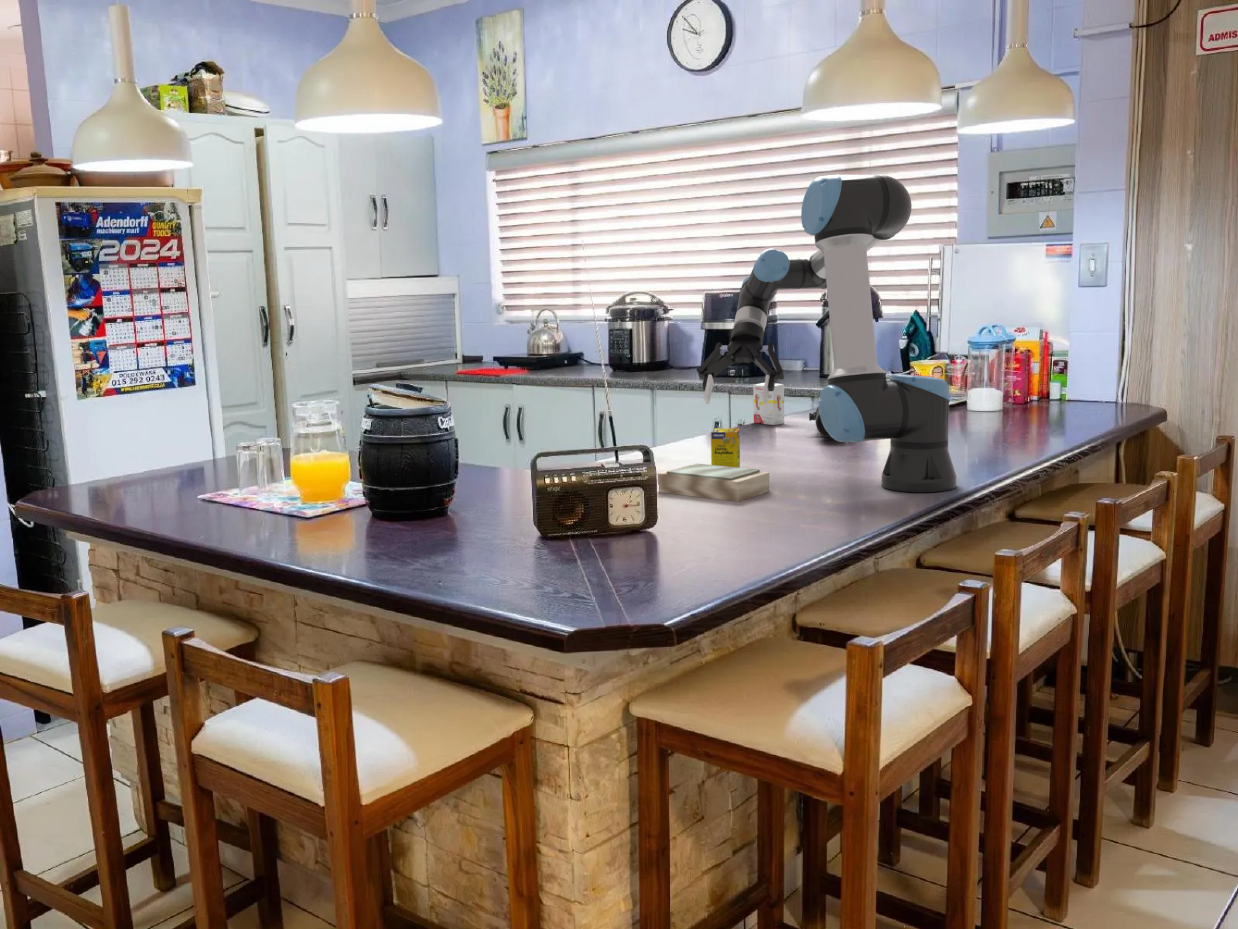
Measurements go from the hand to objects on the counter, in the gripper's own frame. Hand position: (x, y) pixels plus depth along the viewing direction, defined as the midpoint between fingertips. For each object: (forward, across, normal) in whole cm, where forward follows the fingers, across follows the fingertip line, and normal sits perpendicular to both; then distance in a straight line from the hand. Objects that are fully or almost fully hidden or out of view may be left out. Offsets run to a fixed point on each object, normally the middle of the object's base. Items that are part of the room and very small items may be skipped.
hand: (735, 400), depth 256 cm
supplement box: (+19, 0, -4) cm, 20 cm away
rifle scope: (-28, -13, -52) cm, 60 cm away
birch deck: (+30, -1, +7) cm, 31 cm away
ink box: (-43, +8, -67) cm, 80 cm away
